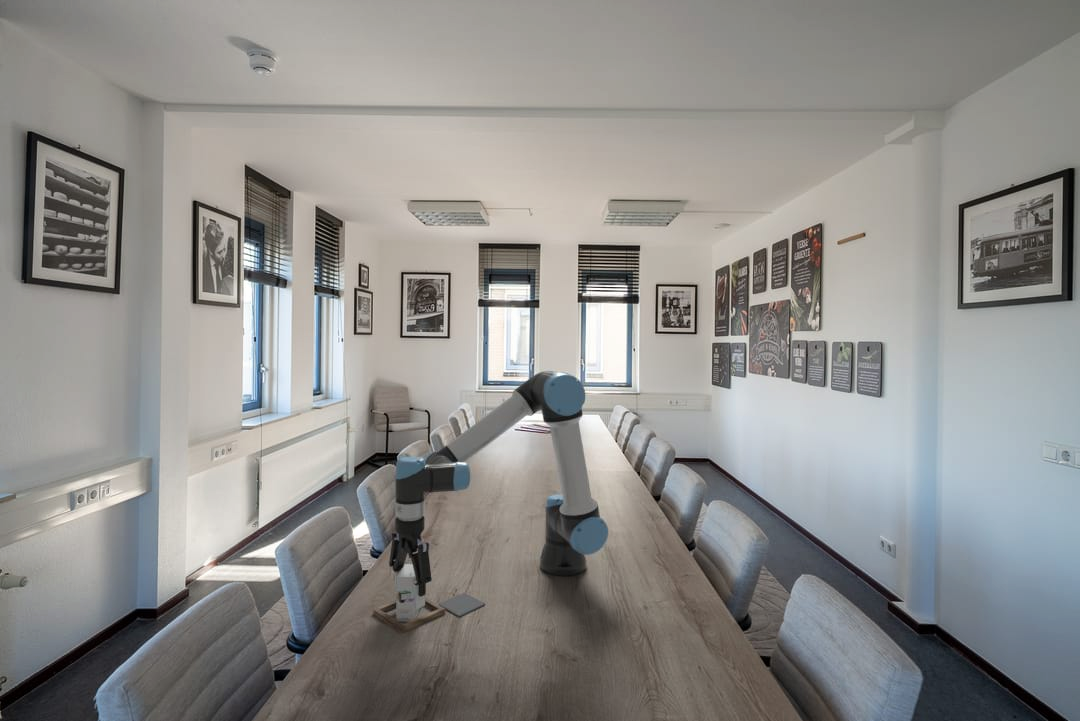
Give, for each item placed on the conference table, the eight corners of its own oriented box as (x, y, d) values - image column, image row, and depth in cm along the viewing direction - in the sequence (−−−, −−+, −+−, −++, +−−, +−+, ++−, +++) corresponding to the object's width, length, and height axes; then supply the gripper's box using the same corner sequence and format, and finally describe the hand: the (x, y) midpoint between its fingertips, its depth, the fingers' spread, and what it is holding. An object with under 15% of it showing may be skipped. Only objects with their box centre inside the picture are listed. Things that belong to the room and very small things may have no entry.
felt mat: (464, 594, 150) (464, 592, 150) (485, 604, 144) (485, 603, 144) (438, 605, 143) (438, 603, 143) (459, 617, 137) (459, 615, 137)
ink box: (404, 605, 143) (404, 562, 143) (422, 605, 143) (422, 563, 143) (395, 621, 134) (395, 576, 134) (414, 622, 134) (414, 577, 134)
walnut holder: (416, 596, 148) (416, 592, 148) (445, 613, 139) (445, 608, 139) (373, 613, 138) (373, 609, 138) (401, 633, 129) (401, 628, 129)
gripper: (375, 510, 142) (375, 592, 143) (421, 530, 128) (421, 621, 129) (399, 504, 148) (399, 583, 149) (446, 522, 133) (445, 609, 134)
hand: (409, 600), depth 139 cm, fingers closed on ink box, 9 cm apart
